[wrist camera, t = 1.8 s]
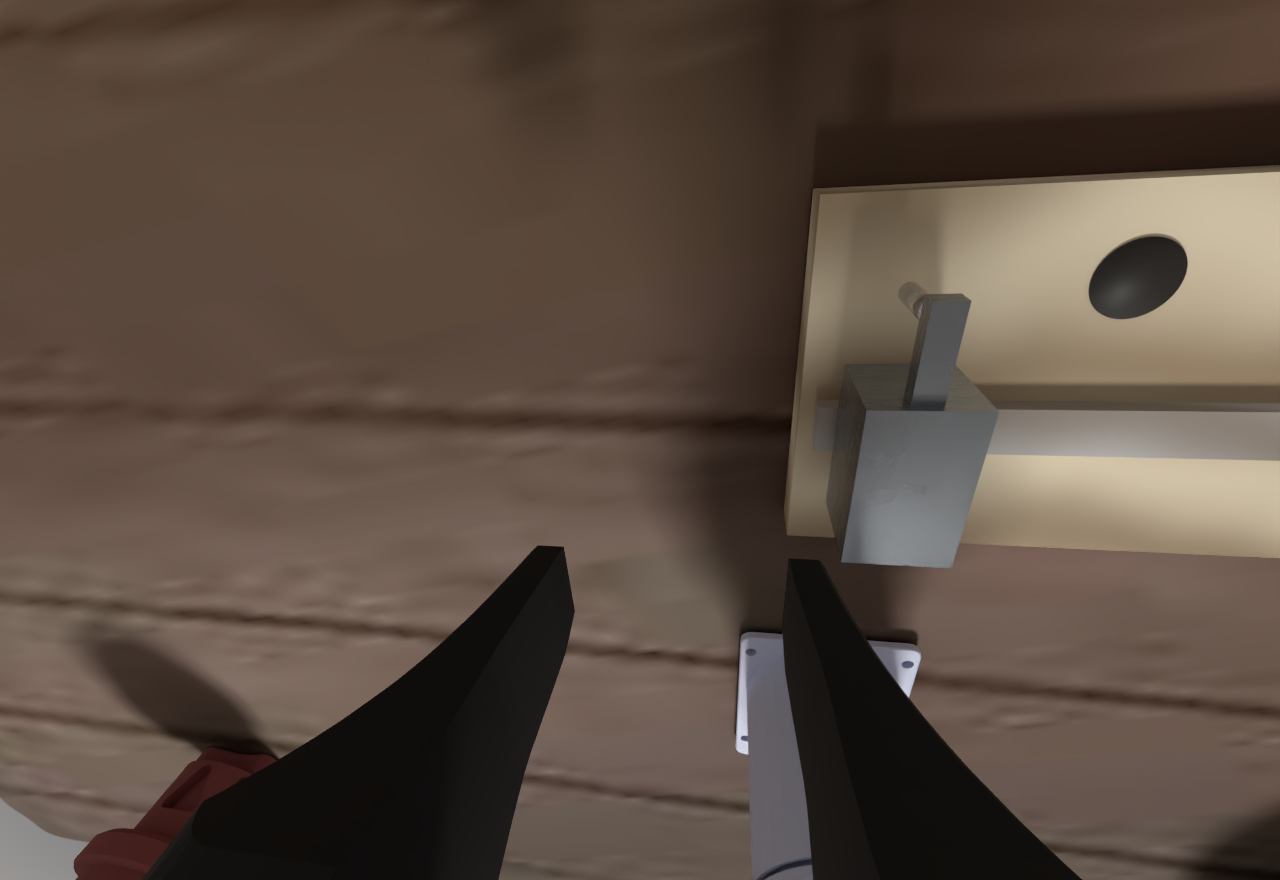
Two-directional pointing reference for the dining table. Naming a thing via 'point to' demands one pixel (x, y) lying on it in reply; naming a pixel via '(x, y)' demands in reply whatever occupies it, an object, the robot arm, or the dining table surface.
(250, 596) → the dining table surface
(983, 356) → the hole board
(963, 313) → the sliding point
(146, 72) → the dining table surface
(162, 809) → the mechanical component
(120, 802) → the dining table surface
